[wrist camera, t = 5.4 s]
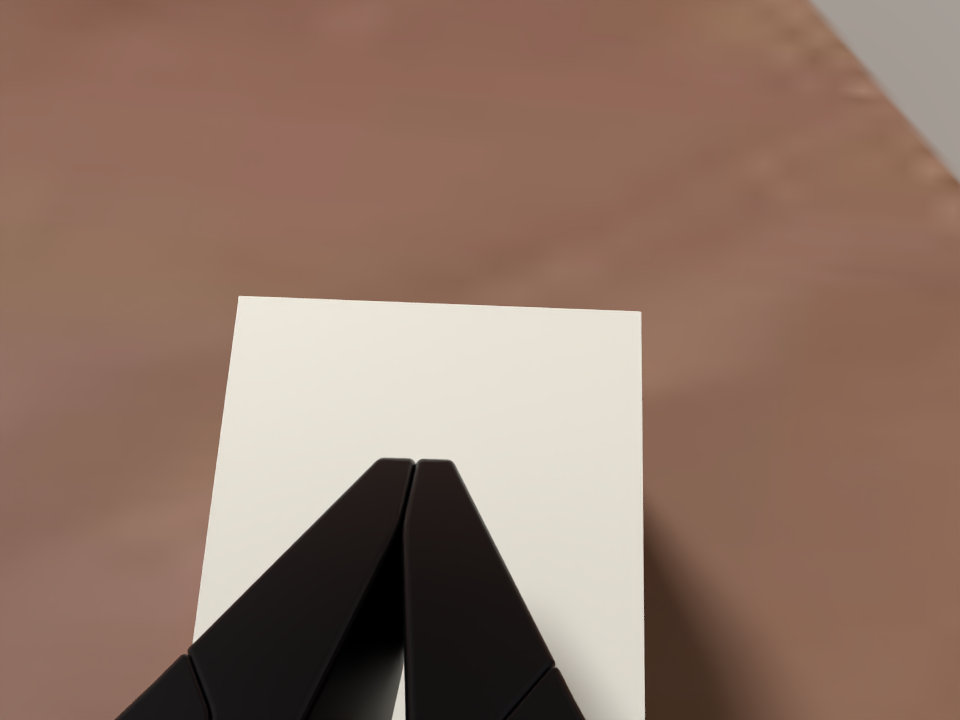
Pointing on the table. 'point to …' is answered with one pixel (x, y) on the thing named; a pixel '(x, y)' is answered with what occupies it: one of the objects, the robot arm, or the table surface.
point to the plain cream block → (450, 455)
